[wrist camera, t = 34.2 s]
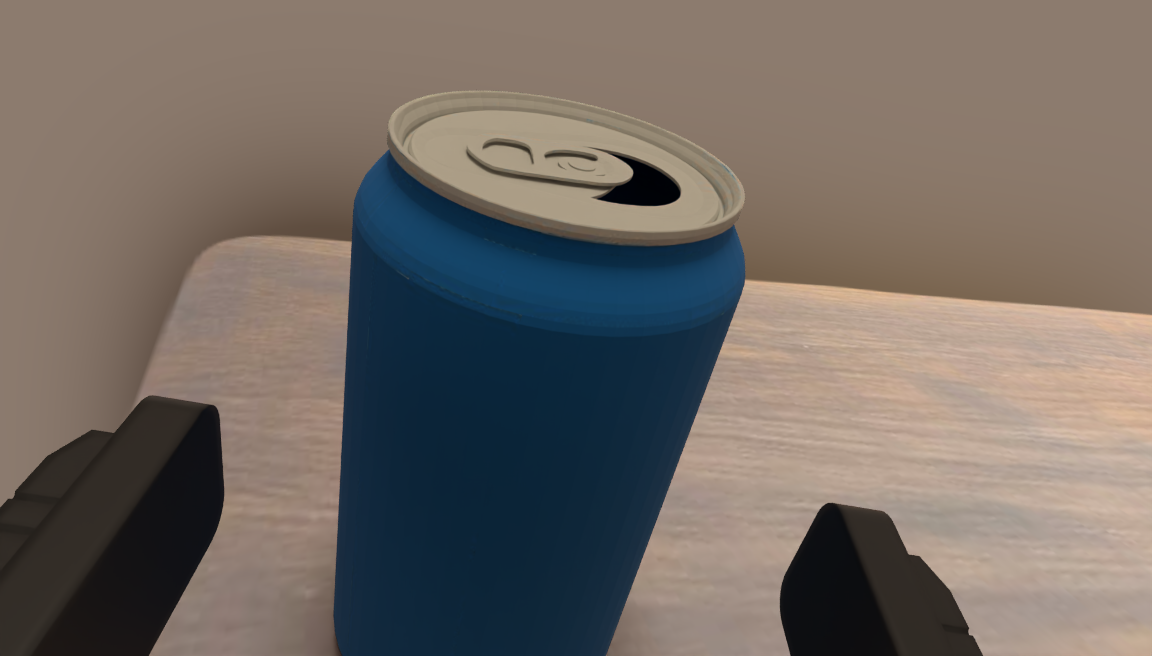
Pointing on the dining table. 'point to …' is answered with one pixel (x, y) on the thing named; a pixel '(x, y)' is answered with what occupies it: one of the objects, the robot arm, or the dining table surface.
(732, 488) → the dining table surface
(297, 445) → the dining table surface
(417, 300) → the beverage can
